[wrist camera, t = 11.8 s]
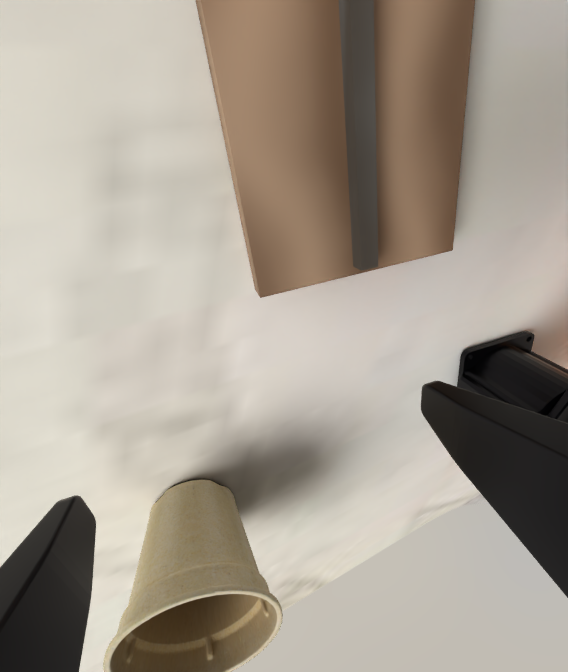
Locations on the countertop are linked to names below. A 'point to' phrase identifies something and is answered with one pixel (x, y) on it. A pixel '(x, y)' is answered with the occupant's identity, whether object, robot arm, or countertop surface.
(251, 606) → the flower pot
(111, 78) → the countertop surface
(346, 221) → the track
